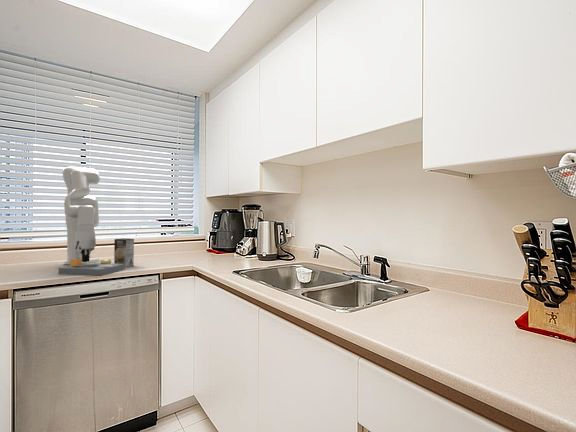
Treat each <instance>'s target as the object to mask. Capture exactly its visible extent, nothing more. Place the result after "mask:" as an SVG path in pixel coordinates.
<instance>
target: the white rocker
mask: <svg viewBox="0 0 576 432" xmlns="http://www.w3.org/2000/svg"><path fill="white" fill-rule="evenodd" d="M91 263H101V260H100V259H97V258H96V259H92V260H89V261H87V262H85V264H91Z"/></svg>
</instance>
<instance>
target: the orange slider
mask: <svg viewBox="0 0 576 432" xmlns="http://www.w3.org/2000/svg"><path fill="white" fill-rule="evenodd" d="M81 265H82V259H70V264H69V266H81Z"/></svg>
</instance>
